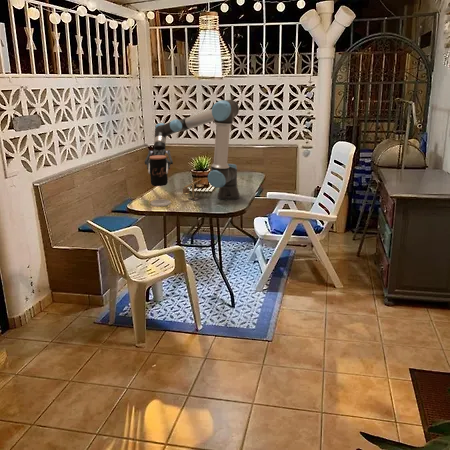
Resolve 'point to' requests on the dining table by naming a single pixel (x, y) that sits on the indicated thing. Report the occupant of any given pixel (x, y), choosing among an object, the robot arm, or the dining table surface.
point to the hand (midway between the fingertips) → (158, 172)
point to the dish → (160, 202)
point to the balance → (186, 190)
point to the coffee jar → (158, 170)
